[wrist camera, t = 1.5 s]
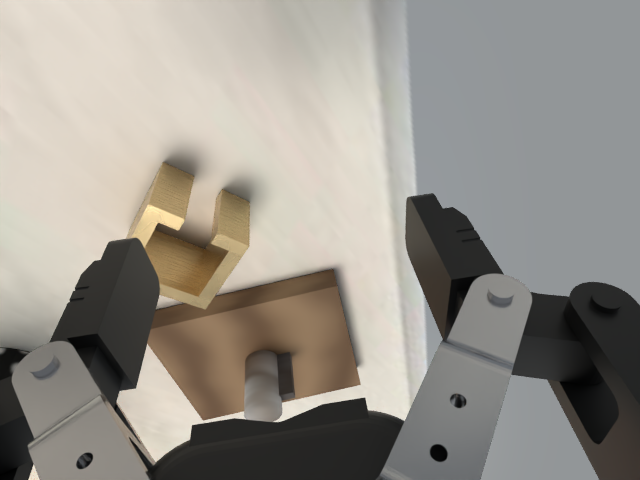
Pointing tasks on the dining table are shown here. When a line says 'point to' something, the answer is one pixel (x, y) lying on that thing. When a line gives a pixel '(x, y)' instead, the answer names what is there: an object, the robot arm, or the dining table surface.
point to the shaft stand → (258, 347)
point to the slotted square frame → (182, 257)
